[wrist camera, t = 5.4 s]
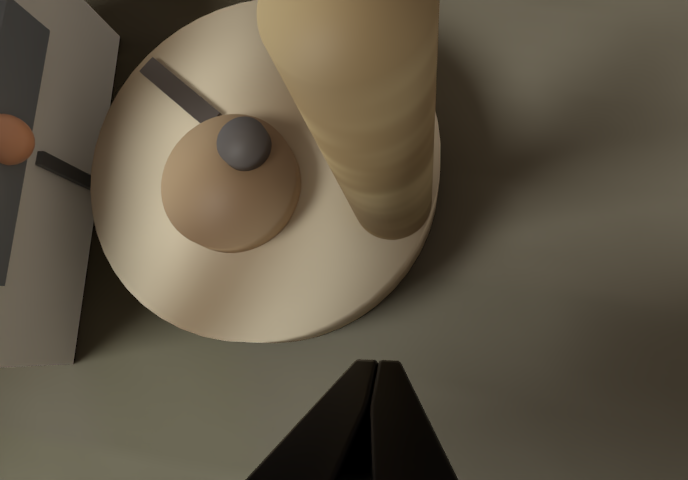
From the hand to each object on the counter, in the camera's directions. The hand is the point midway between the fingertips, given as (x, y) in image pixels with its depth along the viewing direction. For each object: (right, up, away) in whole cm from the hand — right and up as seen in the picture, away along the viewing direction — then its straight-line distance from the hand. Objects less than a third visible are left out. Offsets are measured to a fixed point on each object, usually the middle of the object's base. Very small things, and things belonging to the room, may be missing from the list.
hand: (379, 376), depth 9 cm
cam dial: (-3, +5, +9) cm, 11 cm away
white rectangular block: (-13, +5, +11) cm, 18 cm away
